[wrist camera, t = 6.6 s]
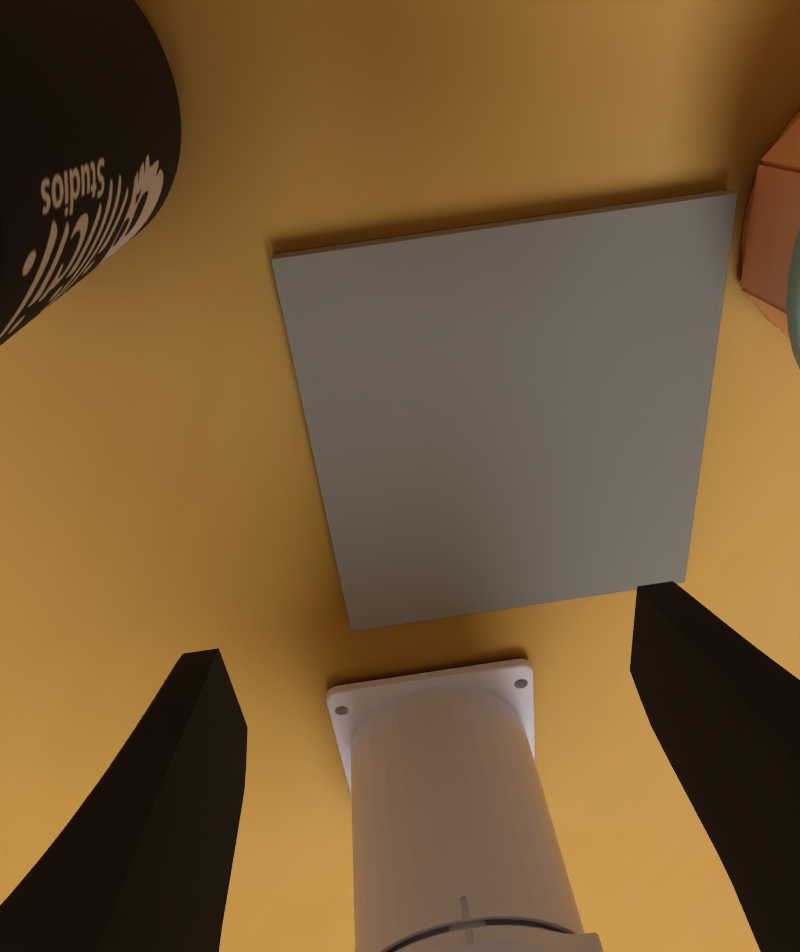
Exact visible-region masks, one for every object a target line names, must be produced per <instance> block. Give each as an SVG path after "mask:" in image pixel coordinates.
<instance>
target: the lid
mask: <svg viewBox="0 0 800 952" xmlns="http://www.w3.org/2000/svg"><path fill="white" fill-rule="evenodd" d="M786 312H787V325H788V333H789V338H790V342H791V346H792V350H793V355H794V357H795V359H796V362H797V364H798V366H799V369H800V228H799V231H798V235H797V238H796V241H795V244H794V248H793V253H792V258H791V263H790V269H789V274H788V282H787V298H786Z"/></svg>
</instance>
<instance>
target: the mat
mask: <svg viewBox="0 0 800 952" xmlns="http://www.w3.org/2000/svg"><path fill="white" fill-rule="evenodd" d="M737 196H738V193H736V192H732V191H729V190H720V191H713V192H706V193H699V194H692V195H685V196H678V197H671V198H664V199H657V200H650V201H643V202H636V203H629V204H622V205H615V206H608V207H601V208H594V209H587V210H580V211H573V212H566V213H559V214H552V215H545V216H537V217H530V218H523V219H516V220H509V221H502V222H495V223H488V224H481V225H474V226H467V227H460V228H453V229H446V230H439V231H432V232H425V233H418V234H411V235H404V236H397V237H390V238H383V239H376V240H369V241H362V242H355V243H348V244H341V245H334V246H327V247H320V248H313V249H306V250H299V251H292V252H285V253H277V254H273V255H272V258H271V262H272V267H273V271H274V276H275V281H276V285H277V290H278V294H279V299H280V304H281V308H282V313H283V318H284V322H285V327H286V332H287V336H288V341H289V346H290V350H291V355H292V359H293V364H294V369H295V373H296V378H297V383H298V387H299V392H300V397H301V401H302V406H303V410H304V415H305V420H306V424H307V429H308V434H309V438H310V443H311V448H312V452H313V457H314V461H315V466H316V471H317V475H318V480H319V485H320V489H321V494H322V499H323V503H324V508H325V512H326V517H327V522H328V526H329V531H330V536H331V540H332V545H333V550H334V554H335V559H336V564H337V568H338V573H339V577H340V582H341V587H342V591H343V596H344V601H345V605H346V610H347V615H348V619H349V624H350V628H351V632H353V631H359V630H366V629H373V628H379V627H386V626H393V625H400V624H406V623H413V622H420V621H427V620H433V619H440V618H447V617H454V616H460V615H467V614H474V613H480V612H487V611H494V610H501V609H507V608H514V607H521V606H528V605H534V604H541V603H548V602H554V601H561V600H568V599H575V598H581V597H588V596H595V595H602V594H608V593H615V592H622V591H629V590H635V589H637V586H643V585H650V584H656V583H663V582H670V581H673V582H674V583H682V582H685V576H686V569H687V562H688V554H689V547H690V540H691V532H692V525H693V518H694V510H695V503H696V496H697V488H698V481H699V474H700V466H701V459H702V452H703V444H704V437H705V430H706V423H707V415H708V408H709V401H710V393H711V386H712V379H713V371H714V364H715V357H716V349H717V342H718V335H719V327H720V320H721V313H722V305H723V298H724V291H725V283H726V276H727V269H728V261H729V254H730V247H731V239H732V232H733V225H734V218H735V210H736V203H737Z"/></svg>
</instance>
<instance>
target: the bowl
mask: <svg viewBox="0 0 800 952" xmlns="http://www.w3.org/2000/svg"><path fill="white" fill-rule="evenodd" d="M761 161H762V162H763V164H762V165H758V169H757V176H756V181H755V183H754V186H753V189H752V192H751V195H750V198H749V201H748V204H747V208H746V213H745V218H744V223H743V230H742V242H741V251H742V265H743V270H742V277H741V284H740V286H741V287H743V288H742V289H741V290H742V292H743V293H744V294H745V295H746V296H747V297H748V298H749V299H750V300H751V301H752V302H753V303H754V304H755V305H756V306H757V307H758V308H759V309H760V311H761V312H762V313H763V314H764V316H765V317H766V318H767V319H768V320H769V321H770V322H772V323H773V324H774V325H775V326H776V327H777V328H779V329H780V330H781V331H782V332H783V333H784V334H785V335H786V336H787V337H788V338H789V333H788V325H787V312H786V298H787V282H788V274H789V269H790V263H791V258H792V253H793V248H794V244H795V241H796V238H797V235H798V231H799V228H800V110H799V112H798V113H797V114H796V115H795V116H794V117H793V119H792V120H791V121H790V122H789V123H788V125H787V126H786V128H785V129H784V131H783V132H782V133H781V135H780V136H779V138H778V139H777V141H776V142H775V144H774V145H773V147H772V148H771V149H770V150H769V151H768V152H767V153H766V154H765V155H764V157H763V158H762V159H761ZM789 339H790V338H789Z"/></svg>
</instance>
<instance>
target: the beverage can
mask: <svg viewBox="0 0 800 952" xmlns="http://www.w3.org/2000/svg"><path fill="white" fill-rule="evenodd" d="M180 145H181V118H180V108H179V102H178V96H177V91H176V87H175V83H174V79H173V76H172V73H171V70H170V67H169V64H168V61H167V59H166V56H165V54H164V51H163V49H162V47H161V45H160V42H159V40H158V38H157V36H156V34H155V33H154V31H153V29H152V27H151V25H150V24H149V22H148V20H147V19H146V17H145V15H144V14H143V13H142V11H141V10H140V8H139V7H138V5H137V4H136V2H135V1H134V0H0V345H1V344H3V343H4V342H5V341H6V340H8V339H9V338H10V337H11V336H12V335H14V334H15V333H16V332H17V331H19V330H20V329H21V328H22V327H24V326H25V325H26V324H27V323H28V322H30V321H31V320H32V319H33V318H35V317H36V316H37V315H38V314H40V313H41V312H42V311H43V310H44V309H46V308H47V307H48V306H49V305H51V304H52V303H53V302H54V301H55V300H57V299H58V298H59V297H60V296H62V295H63V294H64V293H65V292H67V291H68V290H69V289H70V288H71V287H73V286H74V285H75V284H76V283H78V282H79V281H80V280H81V279H83V278H84V277H85V276H86V275H87V274H89V273H90V272H91V271H92V270H94V269H95V268H96V267H97V266H99V265H100V264H101V263H102V262H103V261H105V260H106V259H107V258H108V257H110V256H111V255H112V254H113V253H114V252H116V251H117V250H118V249H119V248H121V247H122V246H123V245H124V244H126V243H127V242H128V241H129V240H130V239H132V238H133V237H134V236H135V235H137V234H138V233H139V232H140V231H141V230H142V229H143V228H144V227H145V226H146V225H147V224H148V223H149V222H150V221H151V220H152V219H153V218H154V216H155V215H156V214H157V212H158V211H159V209H160V208H161V206H162V205H163V203H164V201H165V199H166V197H167V195H168V193H169V191H170V188H171V186H172V183H173V180H174V177H175V174H176V170H177V166H178V161H179V154H180Z"/></svg>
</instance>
